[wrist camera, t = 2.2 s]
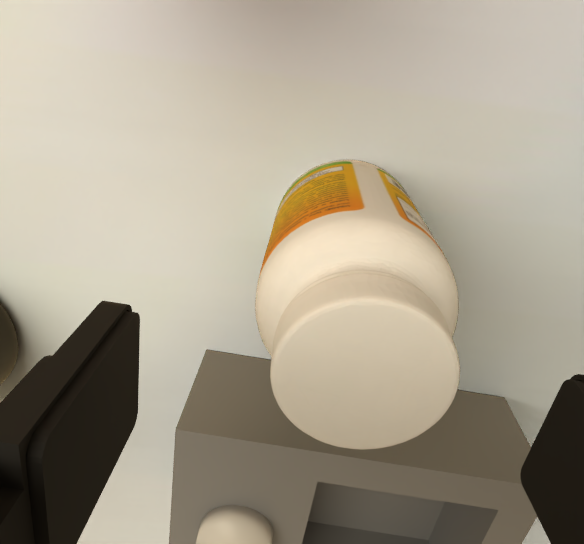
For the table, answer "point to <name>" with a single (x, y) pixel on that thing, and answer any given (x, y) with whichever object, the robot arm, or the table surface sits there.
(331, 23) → the table surface
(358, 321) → the supplement bottle
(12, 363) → the supplement bottle
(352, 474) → the grey hollow block
